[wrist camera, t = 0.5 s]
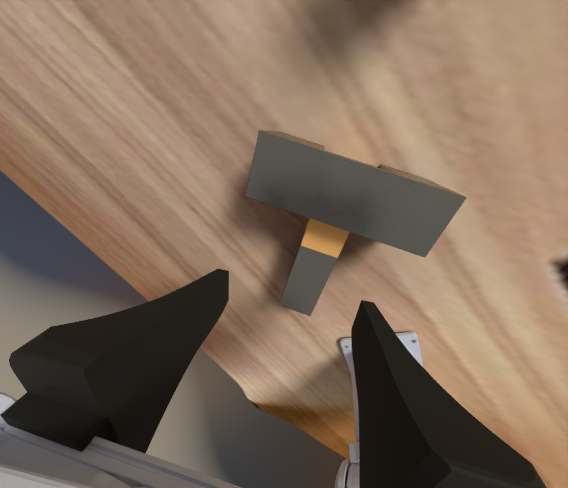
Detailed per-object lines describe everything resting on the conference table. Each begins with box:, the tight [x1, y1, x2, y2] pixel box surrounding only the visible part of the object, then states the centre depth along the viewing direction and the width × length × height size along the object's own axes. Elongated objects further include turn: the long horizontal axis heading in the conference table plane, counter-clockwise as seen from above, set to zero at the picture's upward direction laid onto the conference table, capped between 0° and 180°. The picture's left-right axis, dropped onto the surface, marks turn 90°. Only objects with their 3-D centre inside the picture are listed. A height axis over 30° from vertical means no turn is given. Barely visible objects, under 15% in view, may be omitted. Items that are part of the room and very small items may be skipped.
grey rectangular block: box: [246, 130, 467, 257], centre depth 16 cm, size 4×12×6 cm, turn 74°
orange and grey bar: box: [279, 218, 350, 316], centre depth 19 cm, size 13×3×4 cm, turn 164°
